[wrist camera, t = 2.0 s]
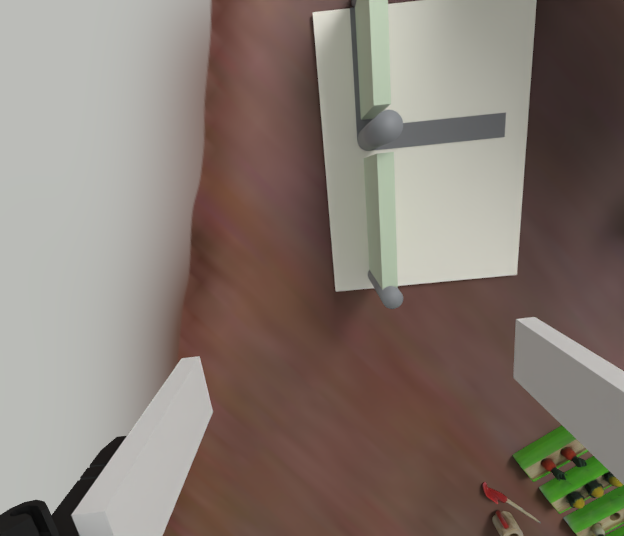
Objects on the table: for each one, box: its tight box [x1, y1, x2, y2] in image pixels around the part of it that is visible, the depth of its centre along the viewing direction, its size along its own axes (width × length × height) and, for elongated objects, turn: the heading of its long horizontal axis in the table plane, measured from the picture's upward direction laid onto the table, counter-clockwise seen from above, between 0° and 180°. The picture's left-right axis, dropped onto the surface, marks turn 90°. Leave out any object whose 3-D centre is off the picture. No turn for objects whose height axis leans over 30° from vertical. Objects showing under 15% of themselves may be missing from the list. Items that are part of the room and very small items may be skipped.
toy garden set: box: [482, 426, 624, 536], centre depth 40 cm, size 23×19×5 cm
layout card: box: [313, 0, 537, 292], centre depth 30 cm, size 24×18×1 cm
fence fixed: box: [351, 0, 403, 151], centre depth 24 cm, size 12×2×8 cm, turn 6°
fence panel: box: [364, 152, 403, 309], centre depth 27 cm, size 12×2×7 cm, turn 6°
